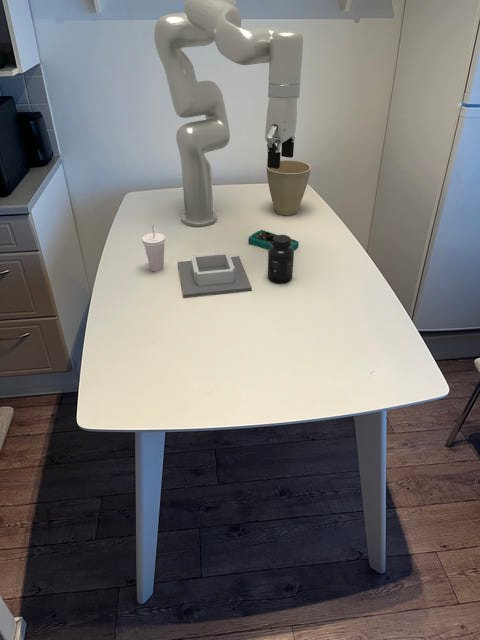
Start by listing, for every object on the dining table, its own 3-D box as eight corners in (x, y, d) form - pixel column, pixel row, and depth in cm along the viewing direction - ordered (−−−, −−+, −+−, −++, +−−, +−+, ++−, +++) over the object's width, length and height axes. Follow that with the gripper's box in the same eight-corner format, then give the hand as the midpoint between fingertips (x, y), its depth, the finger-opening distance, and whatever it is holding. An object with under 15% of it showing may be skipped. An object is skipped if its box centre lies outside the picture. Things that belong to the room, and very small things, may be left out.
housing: (177, 264, 141) (176, 250, 138) (239, 259, 144) (238, 245, 141) (183, 297, 127) (182, 282, 124) (251, 290, 129) (251, 276, 127)
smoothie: (150, 276, 136) (144, 229, 128) (142, 266, 141) (136, 220, 132) (171, 270, 138) (167, 224, 130) (163, 261, 143) (159, 216, 135)
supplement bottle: (262, 278, 135) (263, 238, 128) (278, 269, 139) (279, 230, 132) (281, 287, 131) (283, 246, 124) (297, 277, 135) (300, 238, 128)
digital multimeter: (260, 236, 158) (260, 227, 156) (299, 248, 150) (300, 239, 149) (246, 244, 153) (246, 235, 151) (286, 257, 146) (286, 248, 144)
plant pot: (309, 219, 167) (313, 173, 158) (265, 219, 167) (267, 173, 158) (305, 203, 179) (308, 159, 170) (264, 203, 179) (265, 159, 170)
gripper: (282, 83, 124) (279, 151, 134) (255, 95, 111) (253, 170, 121) (310, 85, 122) (305, 154, 132) (286, 98, 109) (282, 174, 119)
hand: (280, 162), depth 127 cm, fingers open, 9 cm apart
